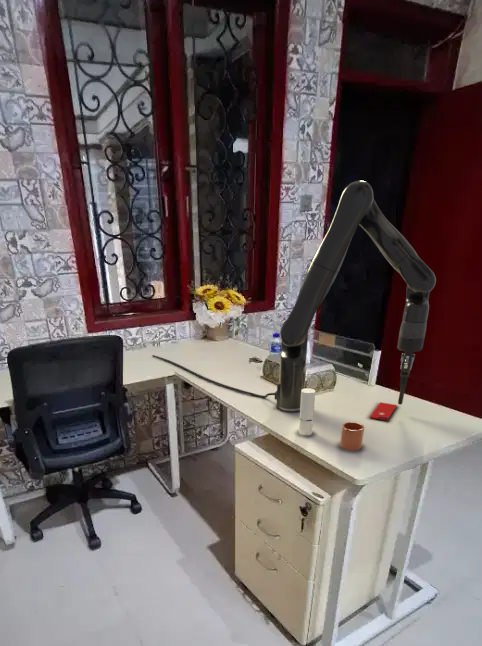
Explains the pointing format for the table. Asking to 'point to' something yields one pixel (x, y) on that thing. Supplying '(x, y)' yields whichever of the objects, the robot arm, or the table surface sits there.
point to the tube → (306, 411)
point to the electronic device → (383, 411)
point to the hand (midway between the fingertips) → (402, 385)
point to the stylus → (401, 395)
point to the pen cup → (352, 436)
